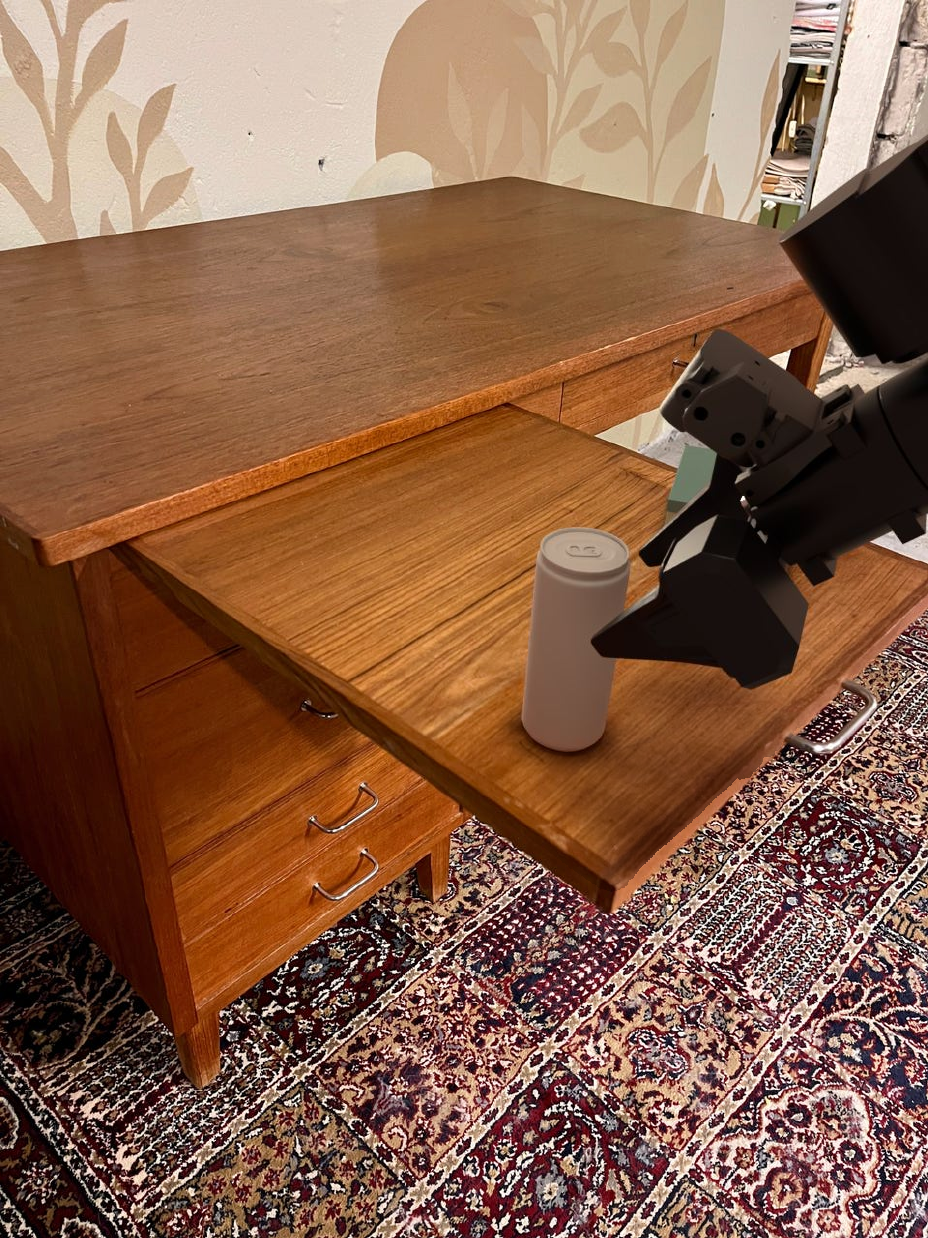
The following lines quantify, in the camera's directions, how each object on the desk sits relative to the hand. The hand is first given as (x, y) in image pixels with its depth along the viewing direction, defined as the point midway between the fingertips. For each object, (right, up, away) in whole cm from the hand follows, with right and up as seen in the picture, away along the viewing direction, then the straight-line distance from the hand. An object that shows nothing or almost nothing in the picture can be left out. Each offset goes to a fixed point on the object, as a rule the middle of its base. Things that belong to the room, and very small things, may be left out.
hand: (621, 600), depth 50 cm
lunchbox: (+12, +5, +25) cm, 29 cm away
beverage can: (-2, -7, +6) cm, 10 cm away
